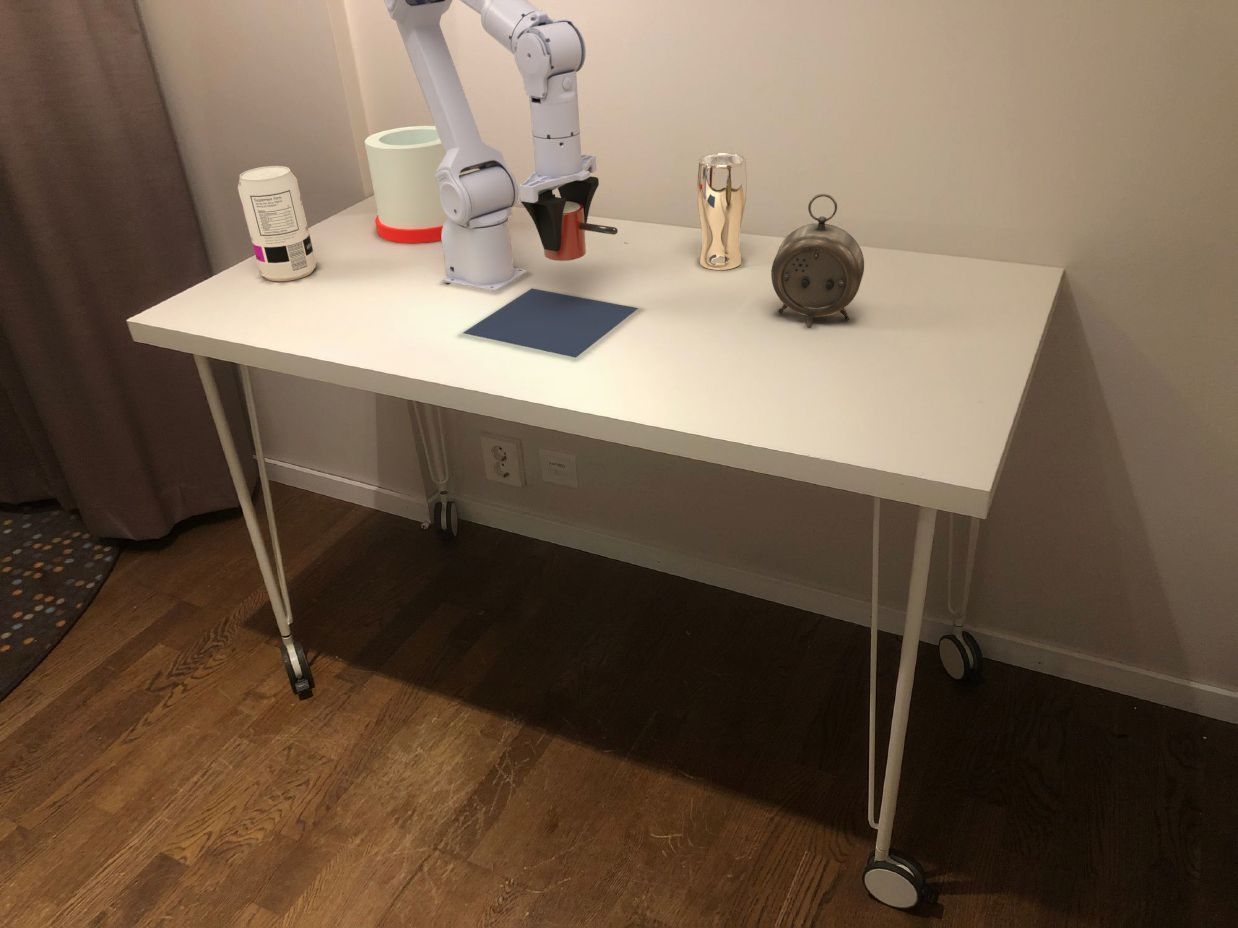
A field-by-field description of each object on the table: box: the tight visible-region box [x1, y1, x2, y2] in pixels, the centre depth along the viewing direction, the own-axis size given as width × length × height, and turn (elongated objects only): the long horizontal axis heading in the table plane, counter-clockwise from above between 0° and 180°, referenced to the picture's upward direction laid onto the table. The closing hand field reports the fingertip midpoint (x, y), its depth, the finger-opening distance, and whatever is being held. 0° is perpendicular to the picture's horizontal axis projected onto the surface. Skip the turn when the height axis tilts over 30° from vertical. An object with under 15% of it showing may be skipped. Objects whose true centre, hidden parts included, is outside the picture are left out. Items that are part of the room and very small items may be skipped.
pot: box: [543, 201, 619, 262], centre depth 118 cm, size 11×5×6 cm, turn 60°
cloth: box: [462, 288, 639, 359], centre depth 122 cm, size 17×16×1 cm
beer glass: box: [696, 152, 748, 271], centre depth 133 cm, size 7×7×15 cm
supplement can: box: [237, 165, 317, 282], centre depth 137 cm, size 8×8×15 cm
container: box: [364, 125, 465, 244], centre depth 152 cm, size 16×16×15 cm
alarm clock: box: [770, 193, 865, 328], centre depth 114 cm, size 11×5×16 cm, turn 71°
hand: (564, 242), depth 120 cm, fingers closed on pot, 5 cm apart
